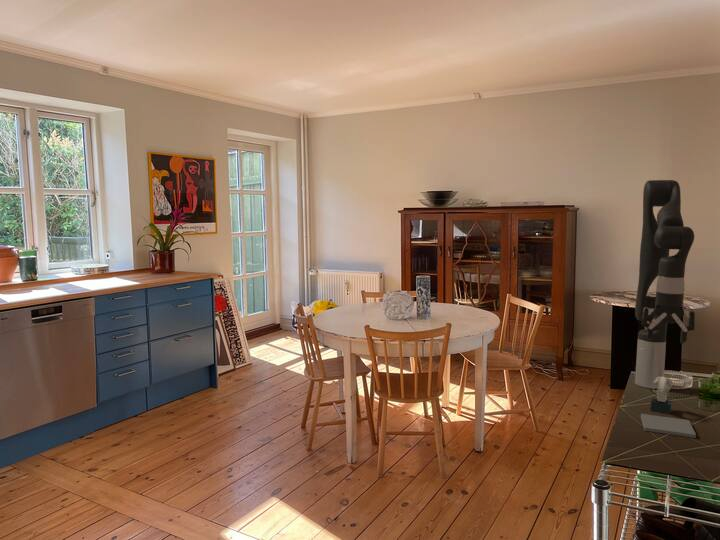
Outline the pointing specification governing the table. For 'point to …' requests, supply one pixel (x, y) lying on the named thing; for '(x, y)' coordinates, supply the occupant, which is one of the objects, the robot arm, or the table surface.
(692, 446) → the table surface
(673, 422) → the mat
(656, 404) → the watch
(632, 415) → the table surface
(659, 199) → the robot arm
